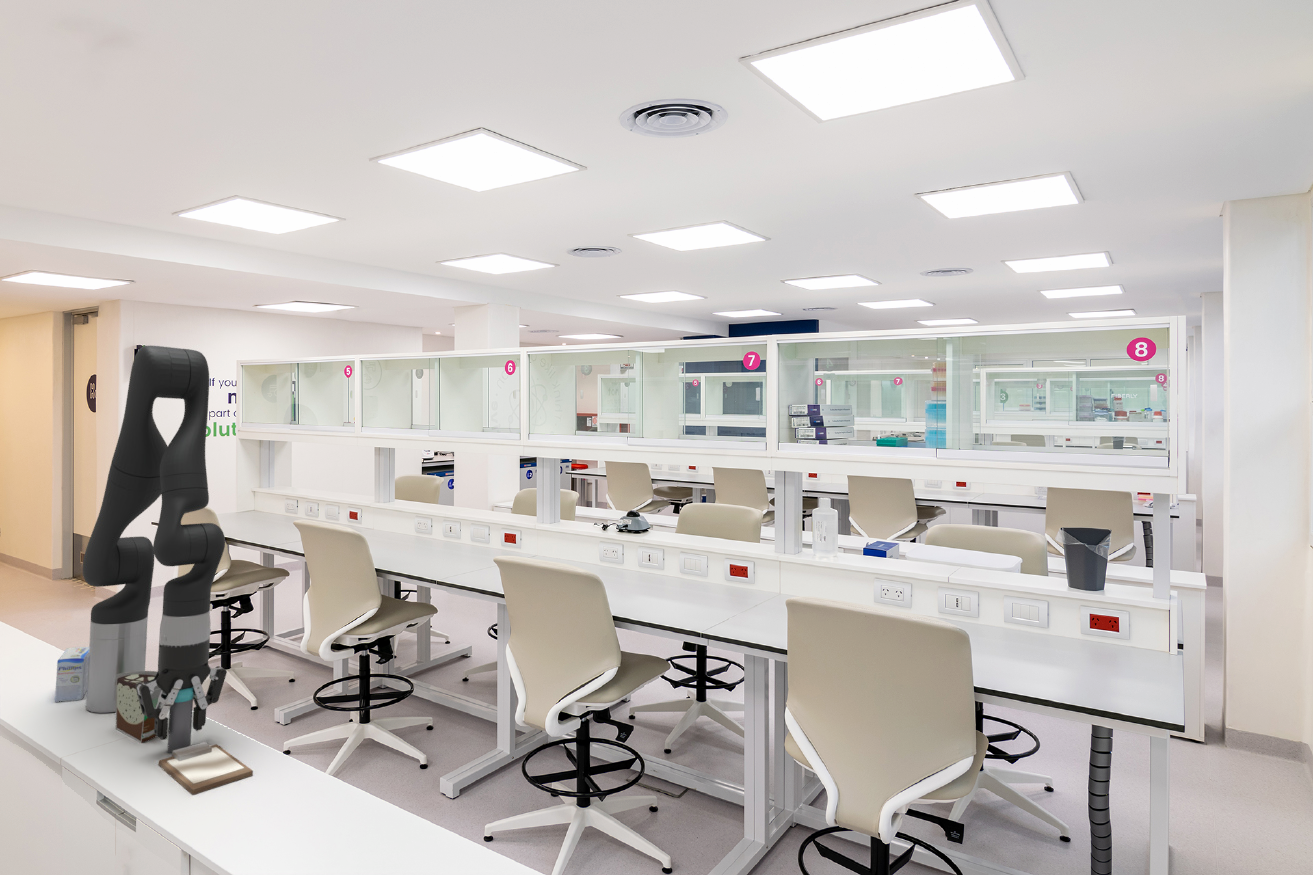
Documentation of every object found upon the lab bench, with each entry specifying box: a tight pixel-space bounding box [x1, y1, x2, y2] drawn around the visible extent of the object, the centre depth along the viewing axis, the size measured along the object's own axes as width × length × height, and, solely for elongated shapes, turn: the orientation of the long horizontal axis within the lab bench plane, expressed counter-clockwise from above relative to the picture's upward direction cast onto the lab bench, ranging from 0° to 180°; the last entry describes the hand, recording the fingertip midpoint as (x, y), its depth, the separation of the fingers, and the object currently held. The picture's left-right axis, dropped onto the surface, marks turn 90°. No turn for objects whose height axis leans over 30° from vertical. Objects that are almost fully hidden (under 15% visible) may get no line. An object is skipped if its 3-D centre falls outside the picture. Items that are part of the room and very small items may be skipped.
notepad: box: [158, 741, 254, 796], centre depth 123 cm, size 14×9×2 cm, turn 52°
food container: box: [114, 670, 162, 744], centre depth 136 cm, size 12×6×10 cm, turn 59°
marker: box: [166, 687, 194, 755], centre depth 130 cm, size 4×4×11 cm
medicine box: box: [54, 646, 89, 703], centre depth 150 cm, size 8×4×9 cm, turn 28°
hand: (179, 732), depth 130 cm, fingers open, 5 cm apart
